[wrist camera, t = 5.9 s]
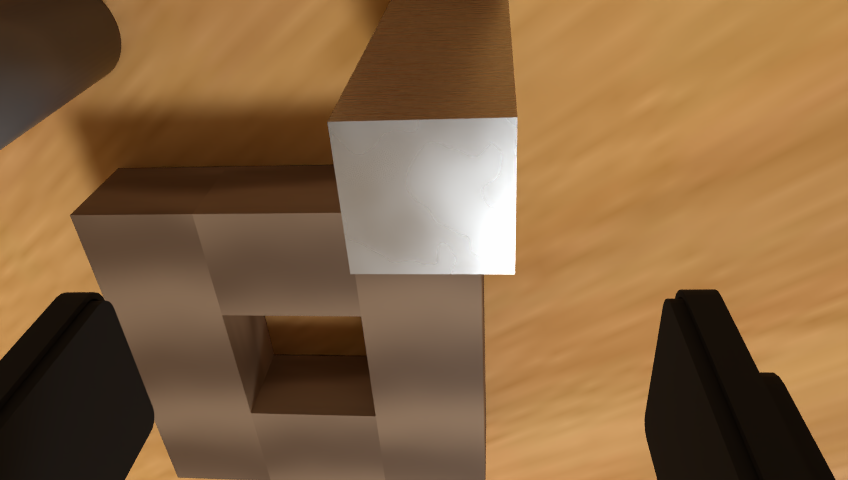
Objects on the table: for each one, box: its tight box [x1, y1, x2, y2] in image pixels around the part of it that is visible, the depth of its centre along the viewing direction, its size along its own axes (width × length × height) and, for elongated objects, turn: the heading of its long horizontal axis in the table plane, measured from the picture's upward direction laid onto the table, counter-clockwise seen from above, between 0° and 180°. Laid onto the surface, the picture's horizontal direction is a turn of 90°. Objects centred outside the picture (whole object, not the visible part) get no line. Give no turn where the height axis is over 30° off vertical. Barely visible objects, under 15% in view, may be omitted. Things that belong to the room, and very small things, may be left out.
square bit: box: [327, 0, 517, 274], centre depth 20 cm, size 4×4×12 cm
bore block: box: [70, 165, 486, 480], centre depth 31 cm, size 16×16×4 cm
